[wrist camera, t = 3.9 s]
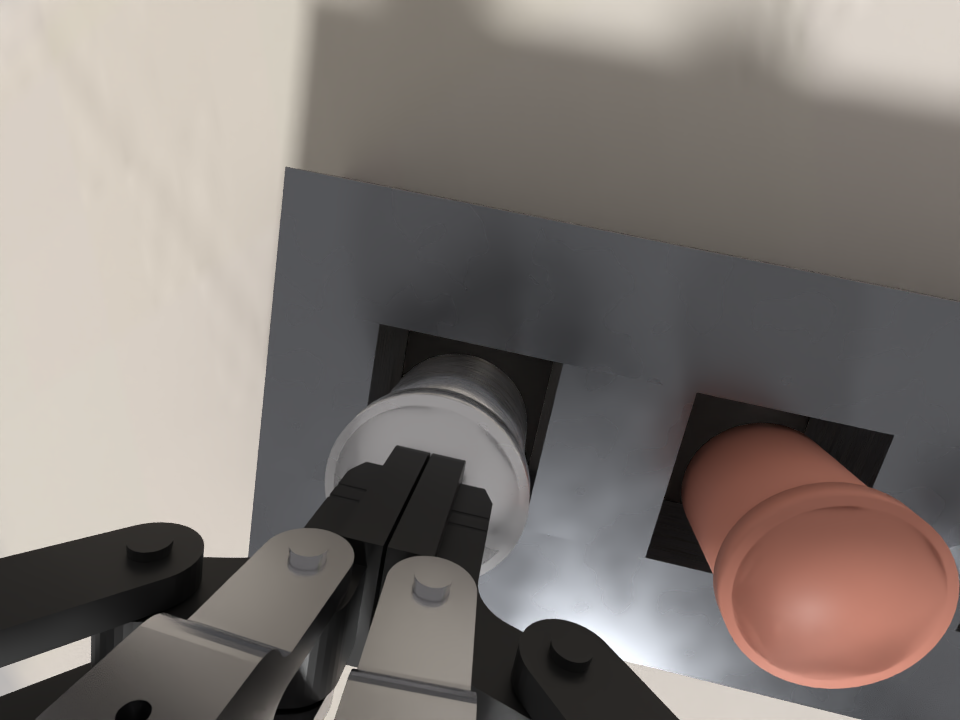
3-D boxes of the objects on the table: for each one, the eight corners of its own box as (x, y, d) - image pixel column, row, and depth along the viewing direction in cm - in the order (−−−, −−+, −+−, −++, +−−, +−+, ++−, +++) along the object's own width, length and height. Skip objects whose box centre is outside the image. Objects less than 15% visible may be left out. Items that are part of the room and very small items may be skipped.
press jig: (340, 176, 18) (285, 166, 14) (1261, 362, 16) (1479, 406, 13) (301, 503, 21) (247, 567, 18) (1070, 688, 20) (1197, 803, 16)
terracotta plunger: (867, 436, 15) (999, 526, 11) (809, 577, 16) (906, 711, 12) (699, 399, 15) (761, 473, 11) (655, 541, 16) (694, 658, 12)
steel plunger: (549, 365, 16) (550, 422, 11) (516, 505, 17) (505, 606, 12) (395, 331, 16) (338, 375, 12) (373, 471, 17) (313, 559, 13)
